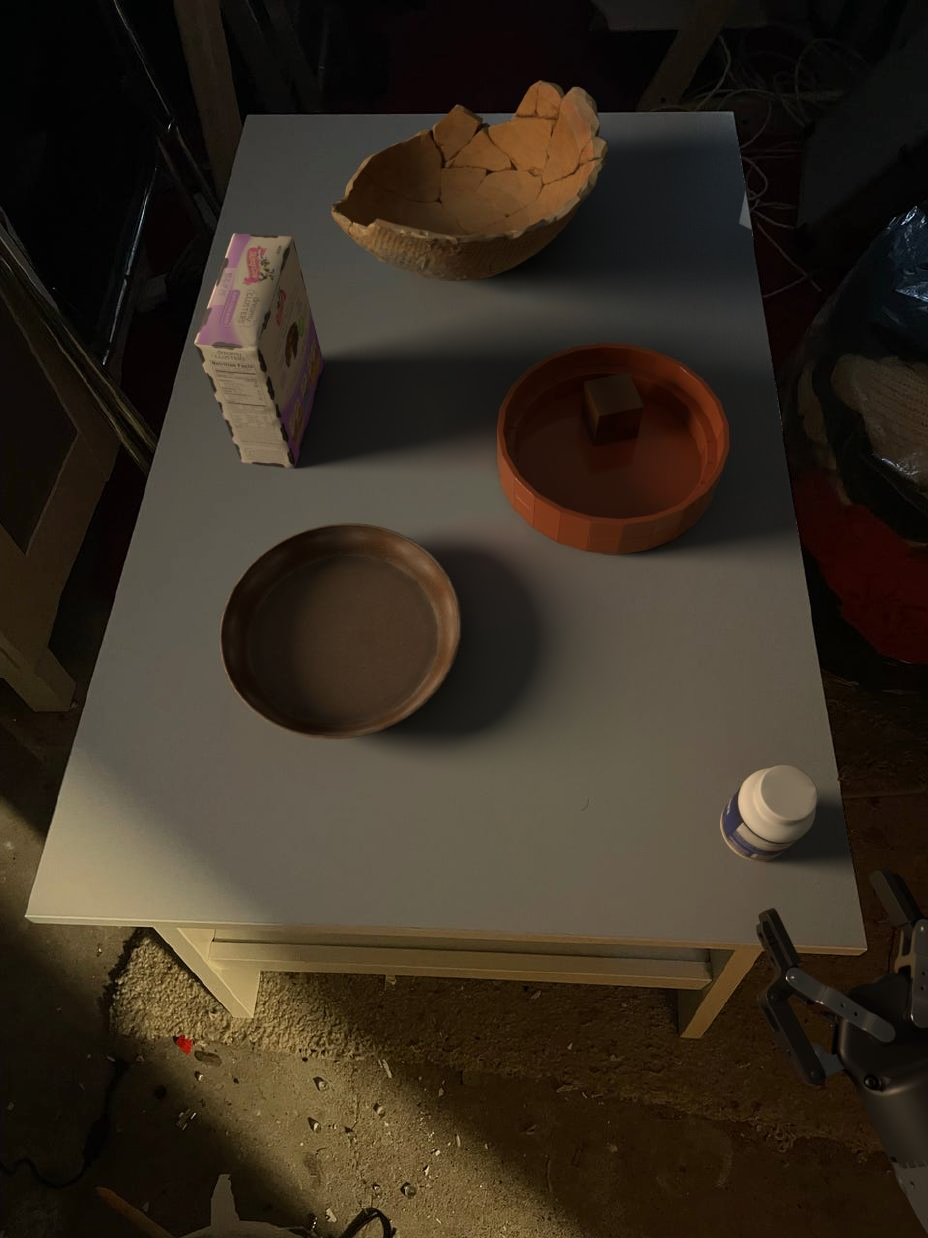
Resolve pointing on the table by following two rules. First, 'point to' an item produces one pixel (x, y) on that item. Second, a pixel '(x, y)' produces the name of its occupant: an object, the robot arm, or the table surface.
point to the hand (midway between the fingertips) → (821, 891)
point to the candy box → (262, 349)
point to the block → (611, 409)
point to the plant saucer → (340, 631)
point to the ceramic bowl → (477, 187)
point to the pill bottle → (769, 812)
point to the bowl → (611, 451)
